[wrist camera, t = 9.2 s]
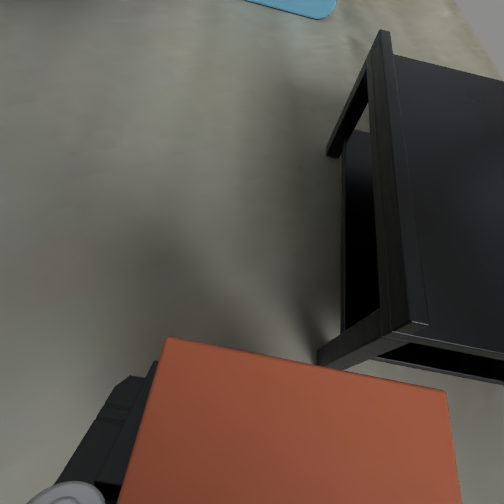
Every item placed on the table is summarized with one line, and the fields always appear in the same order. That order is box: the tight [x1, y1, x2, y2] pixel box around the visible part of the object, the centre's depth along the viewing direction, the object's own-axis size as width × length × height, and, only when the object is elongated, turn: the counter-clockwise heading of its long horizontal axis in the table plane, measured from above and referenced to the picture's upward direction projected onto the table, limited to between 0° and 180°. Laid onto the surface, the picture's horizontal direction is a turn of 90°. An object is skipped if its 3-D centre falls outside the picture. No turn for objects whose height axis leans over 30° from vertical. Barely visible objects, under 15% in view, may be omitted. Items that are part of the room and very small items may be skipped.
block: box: [117, 337, 462, 504], centre depth 8 cm, size 5×5×9 cm
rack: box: [317, 29, 504, 385], centre depth 16 cm, size 14×16×8 cm
